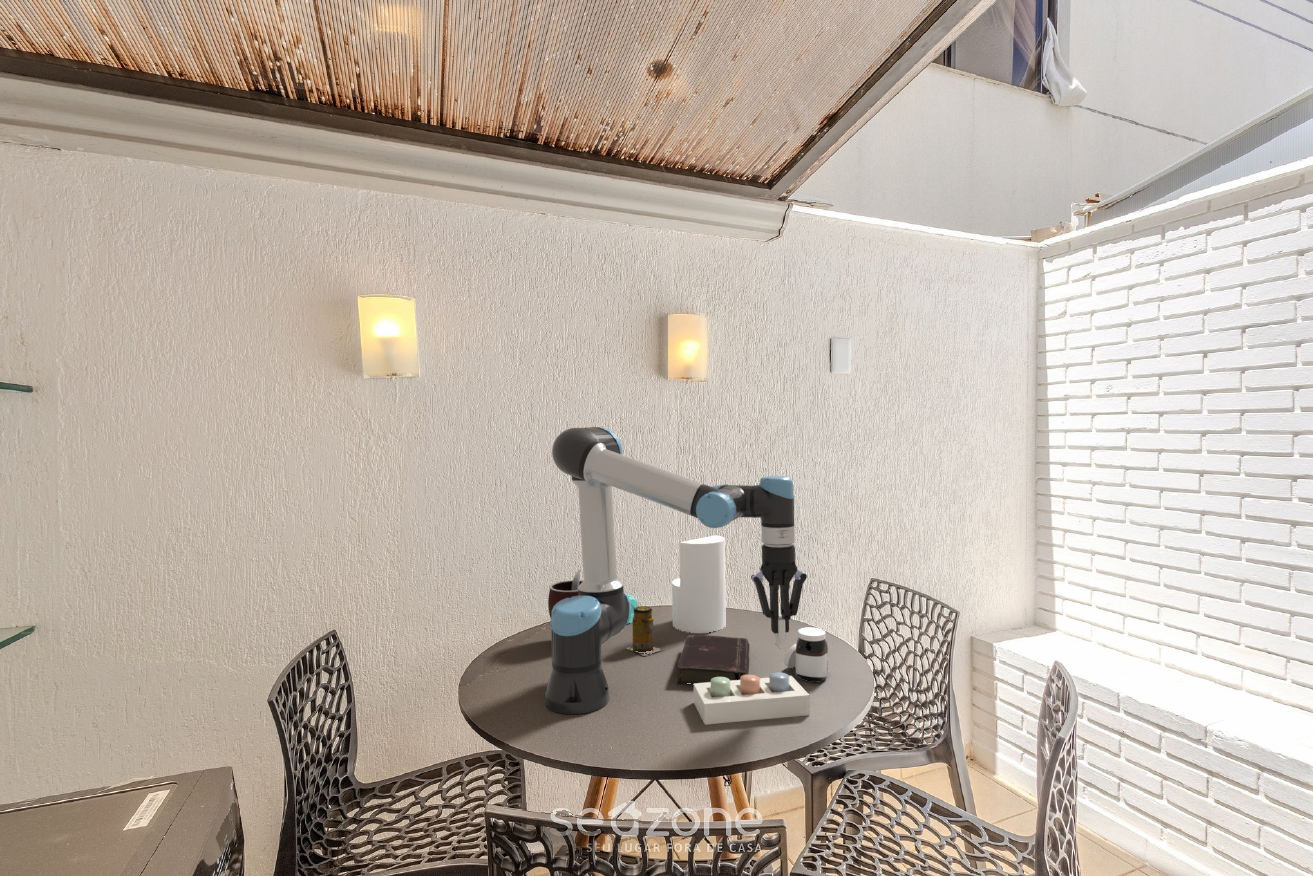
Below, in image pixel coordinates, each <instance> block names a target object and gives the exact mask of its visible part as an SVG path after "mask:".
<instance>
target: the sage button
mask: <svg viewBox="0 0 1313 876" xmlns="http://www.w3.org/2000/svg"><path fill="white" fill-rule="evenodd" d="M726 696H730V680H729V679H728V678H725V677H714V678H712V679H711V697H712V698H714V697H726Z"/></svg>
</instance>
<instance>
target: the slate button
mask: <svg viewBox="0 0 1313 876" xmlns="http://www.w3.org/2000/svg"><path fill="white" fill-rule="evenodd" d="M789 676H790V675H789V674H787V673H784V672H779V671H778V672H775V671H774V672H771V673H770V674H769V677H770V691H771V692H772V693H774V692H786V691H789Z"/></svg>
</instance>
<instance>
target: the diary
mask: <svg viewBox="0 0 1313 876" xmlns="http://www.w3.org/2000/svg"><path fill="white" fill-rule="evenodd" d="M676 668H677V669H679V670H680V676H681V677H680V676H679V678H680V679H679V678H678V680H679V681H678V680H677V683H676V685H677V686H691V685H693V684H694V683H707V682H711V679H712V678H714V677H725V678H728V679H729V680H730V681H732V680H736V679H735V678H738V680H740V677H741V676H743V675H750V673H749V671H750V669H749V668H750V643H749V639H748V638H746V637H730V636H720V635H708V634H703V635H702V634H696V635H695V634H690V635H687V636H686V638H685V642H684V645H683V648H682V651H681V654H680V656H679V659H678V663H677V666H676ZM687 683H691V684H687Z"/></svg>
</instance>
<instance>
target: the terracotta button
mask: <svg viewBox="0 0 1313 876" xmlns="http://www.w3.org/2000/svg"><path fill="white" fill-rule="evenodd" d="M760 678H761V677H759V676H757V675H754V674H749V675H745V674H743V676H741V677H740V693H741V694H742V695H750V694H760Z"/></svg>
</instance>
